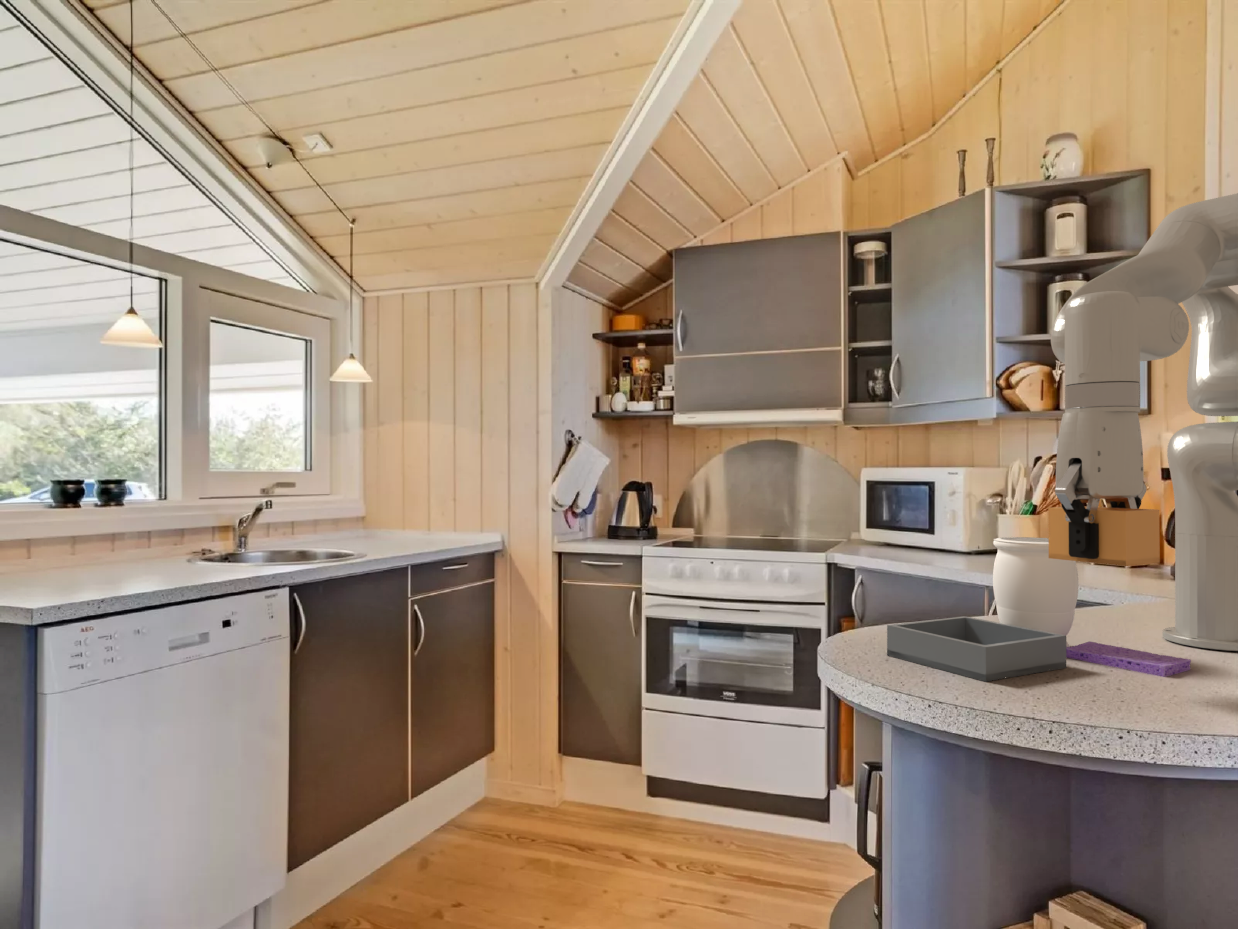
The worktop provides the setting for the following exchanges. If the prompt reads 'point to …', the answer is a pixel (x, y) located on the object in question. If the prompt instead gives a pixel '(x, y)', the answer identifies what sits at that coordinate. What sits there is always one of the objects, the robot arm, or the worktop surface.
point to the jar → (1034, 585)
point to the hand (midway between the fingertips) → (1102, 554)
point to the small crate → (1112, 536)
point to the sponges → (1128, 659)
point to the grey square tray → (977, 647)
